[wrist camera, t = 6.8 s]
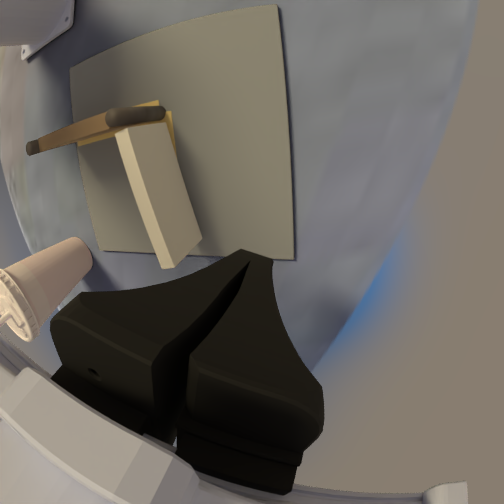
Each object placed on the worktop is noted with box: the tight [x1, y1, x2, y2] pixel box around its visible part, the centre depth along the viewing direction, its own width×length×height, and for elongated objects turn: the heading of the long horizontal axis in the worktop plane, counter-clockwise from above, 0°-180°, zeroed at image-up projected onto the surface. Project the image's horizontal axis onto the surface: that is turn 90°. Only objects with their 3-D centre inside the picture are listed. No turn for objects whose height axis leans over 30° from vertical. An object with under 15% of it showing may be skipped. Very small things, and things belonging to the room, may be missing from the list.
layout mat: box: [69, 4, 294, 260], centre depth 17 cm, size 16×16×1 cm
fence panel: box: [115, 122, 202, 269], centre depth 16 cm, size 8×1×4 cm, turn 15°
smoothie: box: [0, 237, 93, 342], centre depth 18 cm, size 6×6×14 cm
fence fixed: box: [26, 106, 166, 156], centre depth 15 cm, size 1×10×5 cm, turn 95°
